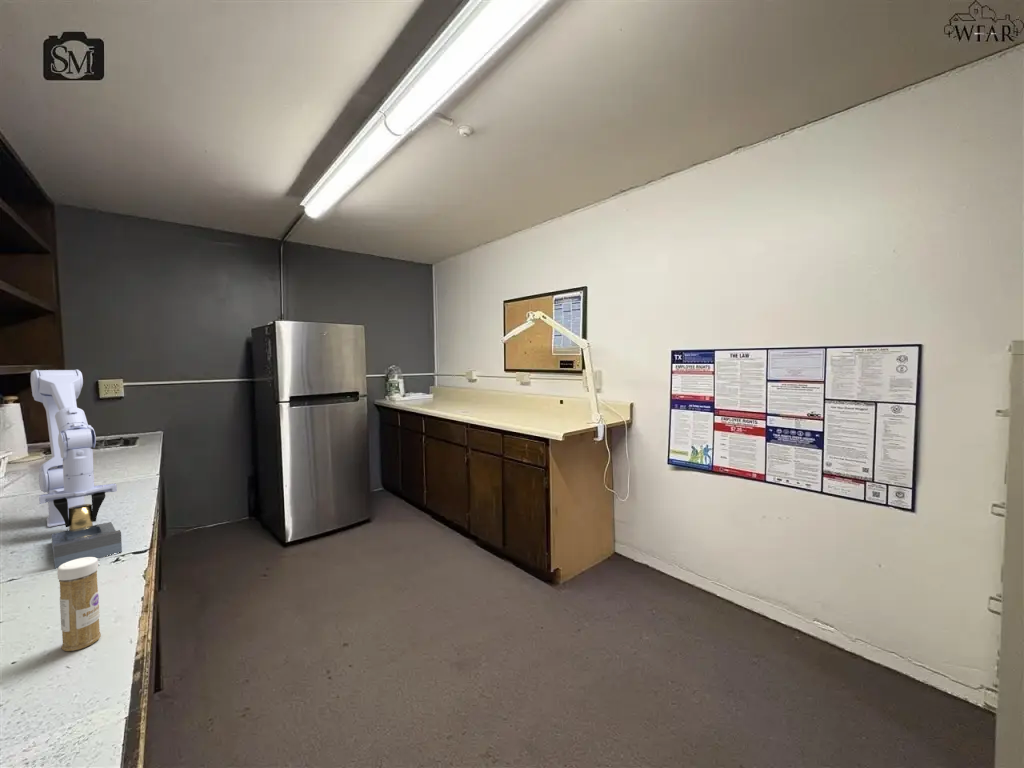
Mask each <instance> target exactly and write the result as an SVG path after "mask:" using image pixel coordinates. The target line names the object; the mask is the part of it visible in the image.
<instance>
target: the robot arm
mask: <svg viewBox="0 0 1024 768" xmlns="http://www.w3.org/2000/svg"><path fill="white" fill-rule="evenodd" d="M83 378H84V377H83V373H82V372H81V370H80V369H48V370H47V369H45V370H44V369H33V370H32V371H31V372H30V386H31V392H32V393H31V395H32V397H33V400H34V401H36V402H40V403H41V404H42V405H43V407H44V409H45V413H46V421H47V430H48V436H49V443H50V451H51V452H50V453H51V458H50V459H48V460H47V461H45V462H44V463H42V464H40V466H39V468H38V485H39V489H40V491H41V492H43V494H39V495H38V500H39V504H40V505H42V504H46V503H47V506H48V517H47V518H46V526H47V528H51V527H56V526H61V525H65V528H69V527H70V523H69V510H68V509H69V508H70V507H73V506H77V505H83V504H86V503H85V497H86V496H87V497H88V496H91V504H92V522H93V523H94V522H97V518H98V513H99V510H100V508H101V506H102V504H103V502H104V501H105V499H106V493H116V492H118V489H117V488H118V485H117V484H116V483H110V484H109V483H108V484H100V485H95V473H94V471H95V470H94V449H95V448H96V442H97V437H96V431H95V429H94V427H92V425H91V424H88V420H87V416H86V414H85V411H84V410H83V409H82V408H79V407H78V405H77V403H78V402H77V399H79V397H80V395H81V391H82V388H83V387H84V385H83V384H84V379H83Z"/></svg>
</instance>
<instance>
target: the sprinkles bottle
mask: <svg viewBox="0 0 1024 768" xmlns="http://www.w3.org/2000/svg"><path fill="white" fill-rule="evenodd" d="M98 559H99V558H98ZM98 559H97V558H95V557H84V558H79V559H75V560H71V561H68V562H66V563H64V564H62V565H60V566H59V567H58V568H57V580H58V582H59V595H60V596H59V609H60V630H61V634H62V635H61V636H62V645H61V649H62V650H63V651H64V652H72V651H78V650H82V649H84V648H86V647H89V646H91V645H93V644H94V643H96V642H98V640H99V639H101V636H102V635H101V634H102V633H101V630H100V600H99V599H100V598H99V597H100V596H99V589H98V569H99V560H98Z"/></svg>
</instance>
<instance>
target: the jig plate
mask: <svg viewBox="0 0 1024 768" xmlns="http://www.w3.org/2000/svg"><path fill="white" fill-rule="evenodd" d="M51 546H52V548H51V549H52V555H53V565H54V566H55V567H54V570H56V568H57V569H58V567H59V566H60V565H62V564H64V563H66V562H68V561H71V560H75V559H79V558H84V557H95V558H98V559H100V558H101V557H102V558H105V557H104V556H106V557H108V556H107V555H110V554H114V553H118V552H122V553H123V549H122V548H123V546H122V531H121V529H118V530H116V529H115V526H114V524H113V523H112V521H109V522H104V523H100V524H94V525H93V526H89V527H84V528H79V529H74V530H69V529H68V530H65V531H60V532H55V533H51ZM118 554H119V553H118ZM114 555H115V554H114ZM110 556H111V555H110ZM102 558H101V559H102Z"/></svg>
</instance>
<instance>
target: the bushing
mask: <svg viewBox="0 0 1024 768" xmlns="http://www.w3.org/2000/svg"><path fill="white" fill-rule="evenodd" d="M68 510H69V523H70V527H68V528H69V529H68V531H69V530H74V529H79V528H84V527H89V526H94V525H93V523H94V522H92V503H85V504H83V505H77V506H73V507H70V508H69V509H68Z"/></svg>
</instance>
